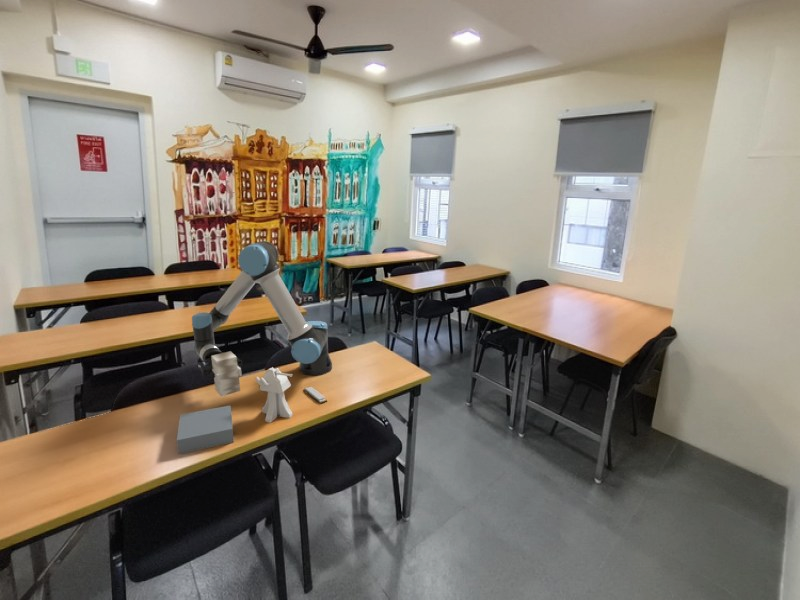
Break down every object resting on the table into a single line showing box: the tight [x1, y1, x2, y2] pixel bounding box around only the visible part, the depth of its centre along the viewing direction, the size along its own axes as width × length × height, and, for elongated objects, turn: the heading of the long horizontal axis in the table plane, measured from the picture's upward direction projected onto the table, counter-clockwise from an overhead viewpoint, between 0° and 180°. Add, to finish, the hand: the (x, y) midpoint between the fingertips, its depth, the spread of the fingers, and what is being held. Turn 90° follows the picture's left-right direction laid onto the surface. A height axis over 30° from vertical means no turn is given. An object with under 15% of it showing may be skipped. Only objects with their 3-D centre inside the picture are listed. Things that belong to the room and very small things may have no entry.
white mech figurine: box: [254, 366, 294, 423], centre depth 144 cm, size 12×13×18 cm
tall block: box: [211, 350, 241, 397], centre depth 147 cm, size 7×7×14 cm
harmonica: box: [303, 386, 328, 405], centre depth 160 cm, size 15×3×2 cm, turn 40°
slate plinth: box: [176, 405, 235, 455], centre depth 132 cm, size 16×16×5 cm
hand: (229, 375), depth 143 cm, fingers closed on tall block, 7 cm apart
